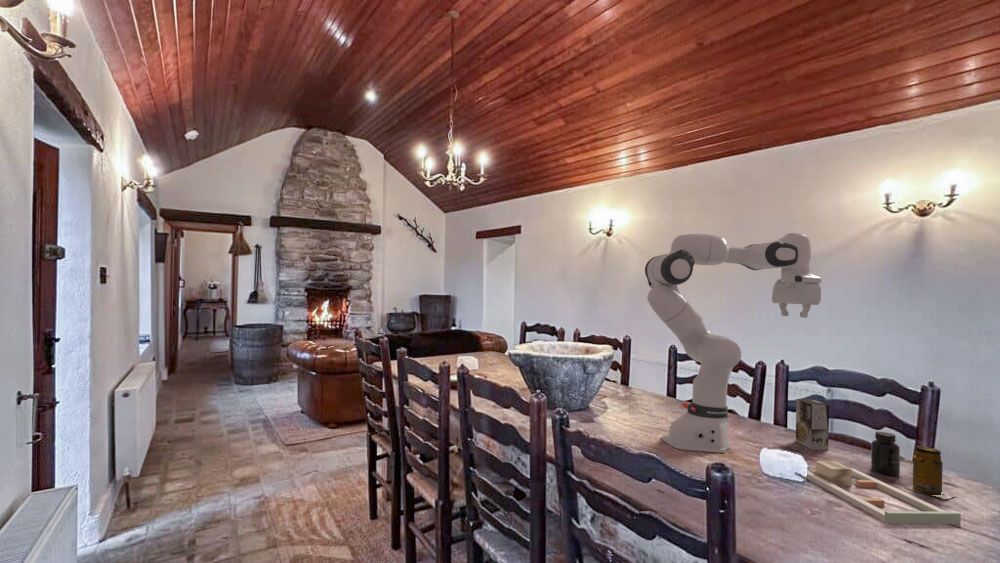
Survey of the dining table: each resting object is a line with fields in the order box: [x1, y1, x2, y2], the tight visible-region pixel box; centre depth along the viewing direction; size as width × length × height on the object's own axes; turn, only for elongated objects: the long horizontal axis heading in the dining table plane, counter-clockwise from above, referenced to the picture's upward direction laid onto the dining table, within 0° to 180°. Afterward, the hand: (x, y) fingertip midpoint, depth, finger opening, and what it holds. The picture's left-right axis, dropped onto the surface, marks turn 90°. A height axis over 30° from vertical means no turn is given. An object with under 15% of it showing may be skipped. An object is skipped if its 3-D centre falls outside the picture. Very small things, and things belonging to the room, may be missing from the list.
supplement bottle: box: [870, 431, 901, 477], centre depth 141 cm, size 7×7×12 cm
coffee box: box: [795, 398, 830, 451], centre depth 165 cm, size 9×6×16 cm
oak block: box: [814, 460, 853, 487], centre depth 132 cm, size 6×6×5 cm
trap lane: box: [805, 467, 962, 525], centre depth 124 cm, size 18×30×2 cm, turn 4°
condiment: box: [905, 445, 946, 501], centre depth 128 cm, size 7×8×12 cm
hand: (793, 316), depth 165 cm, fingers open, 8 cm apart
